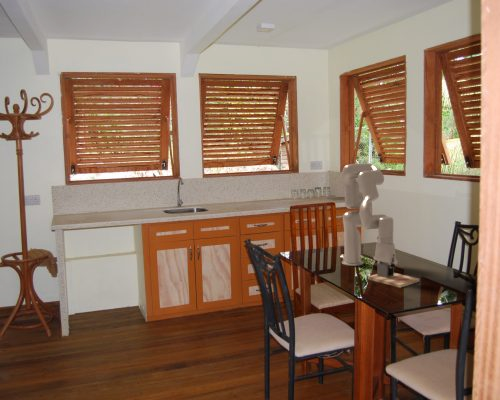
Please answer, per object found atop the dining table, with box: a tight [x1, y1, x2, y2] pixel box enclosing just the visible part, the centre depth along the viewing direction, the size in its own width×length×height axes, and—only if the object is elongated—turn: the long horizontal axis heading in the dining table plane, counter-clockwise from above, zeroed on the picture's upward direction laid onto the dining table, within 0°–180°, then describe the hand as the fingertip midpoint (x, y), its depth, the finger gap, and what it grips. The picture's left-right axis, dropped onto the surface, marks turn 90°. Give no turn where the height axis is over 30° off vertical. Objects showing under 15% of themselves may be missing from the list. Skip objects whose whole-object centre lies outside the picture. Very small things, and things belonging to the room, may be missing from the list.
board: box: [367, 272, 420, 289], centre depth 252 cm, size 20×16×6 cm
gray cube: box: [376, 262, 395, 278], centre depth 255 cm, size 6×6×6 cm
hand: (385, 273), depth 256 cm, fingers closed on gray cube, 6 cm apart
